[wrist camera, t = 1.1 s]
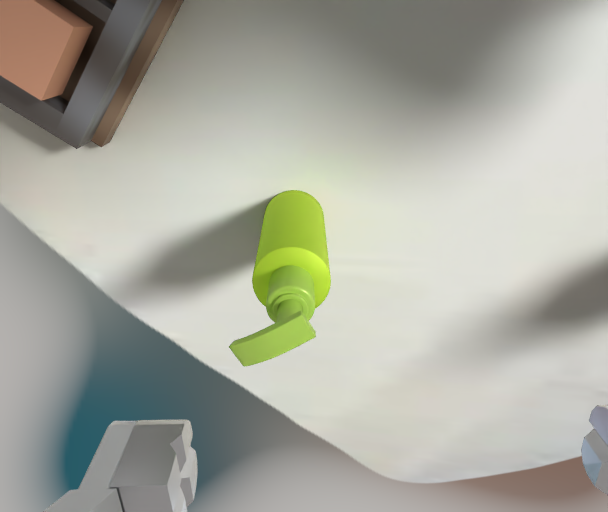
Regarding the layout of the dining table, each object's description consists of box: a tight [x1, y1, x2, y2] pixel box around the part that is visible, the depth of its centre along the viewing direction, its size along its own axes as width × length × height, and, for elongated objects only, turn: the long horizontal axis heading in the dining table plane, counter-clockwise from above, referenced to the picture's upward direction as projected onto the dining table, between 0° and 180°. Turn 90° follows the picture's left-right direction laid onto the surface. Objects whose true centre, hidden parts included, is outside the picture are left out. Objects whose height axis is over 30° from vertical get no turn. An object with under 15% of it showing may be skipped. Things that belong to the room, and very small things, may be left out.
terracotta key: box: [0, 0, 93, 101], centre depth 36 cm, size 6×6×4 cm
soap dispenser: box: [229, 190, 331, 366], centre depth 39 cm, size 6×7×20 cm
